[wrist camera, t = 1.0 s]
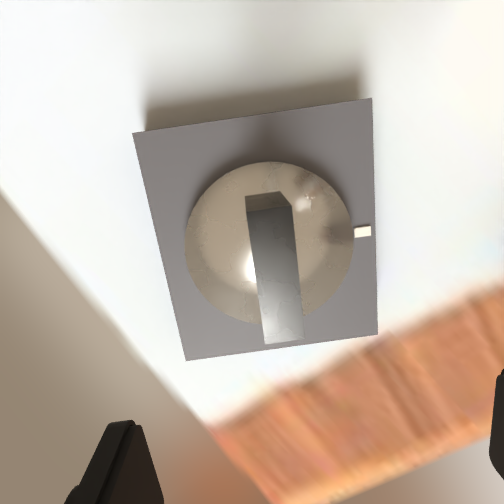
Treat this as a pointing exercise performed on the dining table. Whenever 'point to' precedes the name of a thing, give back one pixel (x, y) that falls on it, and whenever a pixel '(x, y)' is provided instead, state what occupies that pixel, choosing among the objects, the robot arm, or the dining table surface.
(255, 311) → the dial
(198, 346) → the control panel
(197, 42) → the dining table surface
